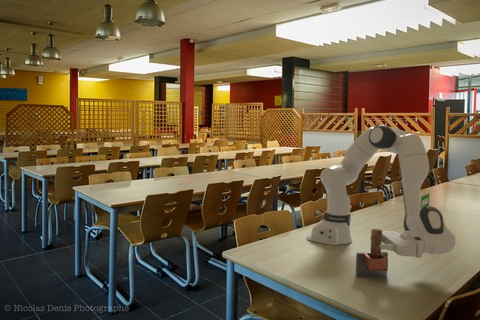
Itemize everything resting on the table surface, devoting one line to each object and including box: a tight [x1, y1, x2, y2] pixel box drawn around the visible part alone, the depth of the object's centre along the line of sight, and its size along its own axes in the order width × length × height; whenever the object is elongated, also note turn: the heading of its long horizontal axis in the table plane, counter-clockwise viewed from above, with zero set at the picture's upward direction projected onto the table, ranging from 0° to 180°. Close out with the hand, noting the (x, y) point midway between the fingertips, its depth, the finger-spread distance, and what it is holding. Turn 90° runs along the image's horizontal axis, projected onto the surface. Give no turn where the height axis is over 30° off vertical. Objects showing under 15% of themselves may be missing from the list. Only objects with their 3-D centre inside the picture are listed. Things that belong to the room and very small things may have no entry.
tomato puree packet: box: [420, 193, 430, 208], centre depth 221 cm, size 15×1×20 cm, turn 139°
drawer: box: [355, 251, 389, 278], centre depth 151 cm, size 12×8×10 cm, turn 92°
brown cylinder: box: [369, 228, 383, 258], centre depth 150 cm, size 4×4×14 cm
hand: (375, 242), depth 150 cm, fingers open, 8 cm apart
